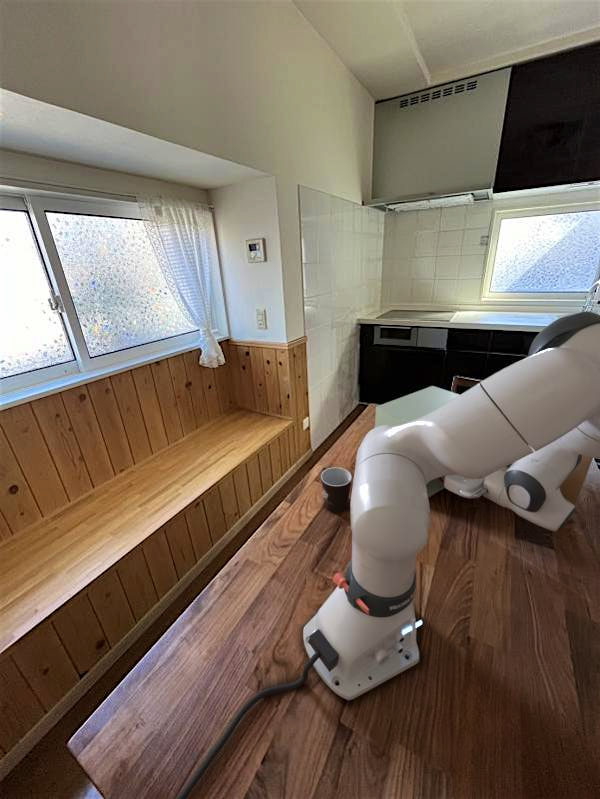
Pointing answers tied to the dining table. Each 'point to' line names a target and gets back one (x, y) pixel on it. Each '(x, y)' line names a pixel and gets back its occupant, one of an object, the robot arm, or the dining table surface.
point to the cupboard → (415, 415)
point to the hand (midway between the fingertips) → (450, 460)
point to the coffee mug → (336, 488)
